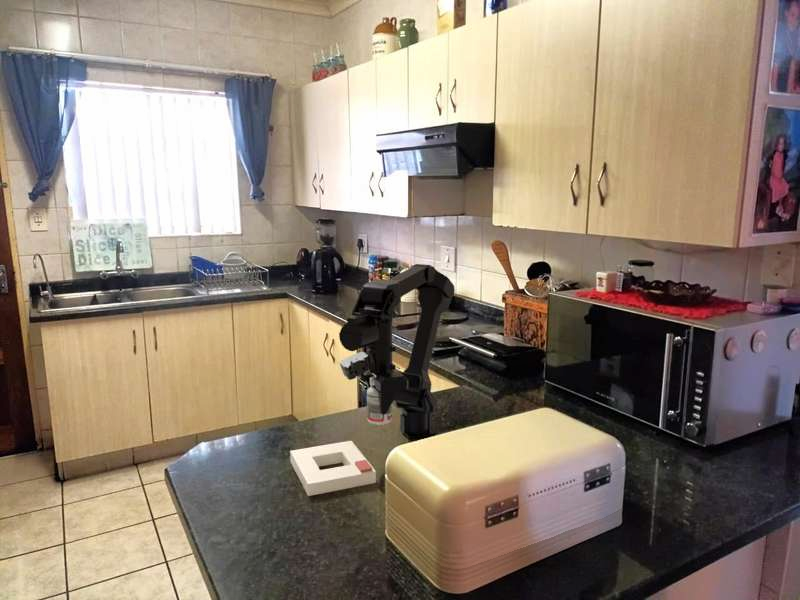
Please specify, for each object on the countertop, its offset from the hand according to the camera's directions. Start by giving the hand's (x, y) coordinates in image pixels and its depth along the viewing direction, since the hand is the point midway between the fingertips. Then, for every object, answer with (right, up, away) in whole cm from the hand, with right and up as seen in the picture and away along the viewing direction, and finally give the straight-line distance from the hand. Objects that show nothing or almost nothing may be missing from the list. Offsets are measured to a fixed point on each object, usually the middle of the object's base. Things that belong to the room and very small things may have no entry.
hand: (379, 409), depth 128 cm
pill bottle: (0, -3, 0) cm, 3 cm away
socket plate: (-10, -12, -5) cm, 16 cm away
